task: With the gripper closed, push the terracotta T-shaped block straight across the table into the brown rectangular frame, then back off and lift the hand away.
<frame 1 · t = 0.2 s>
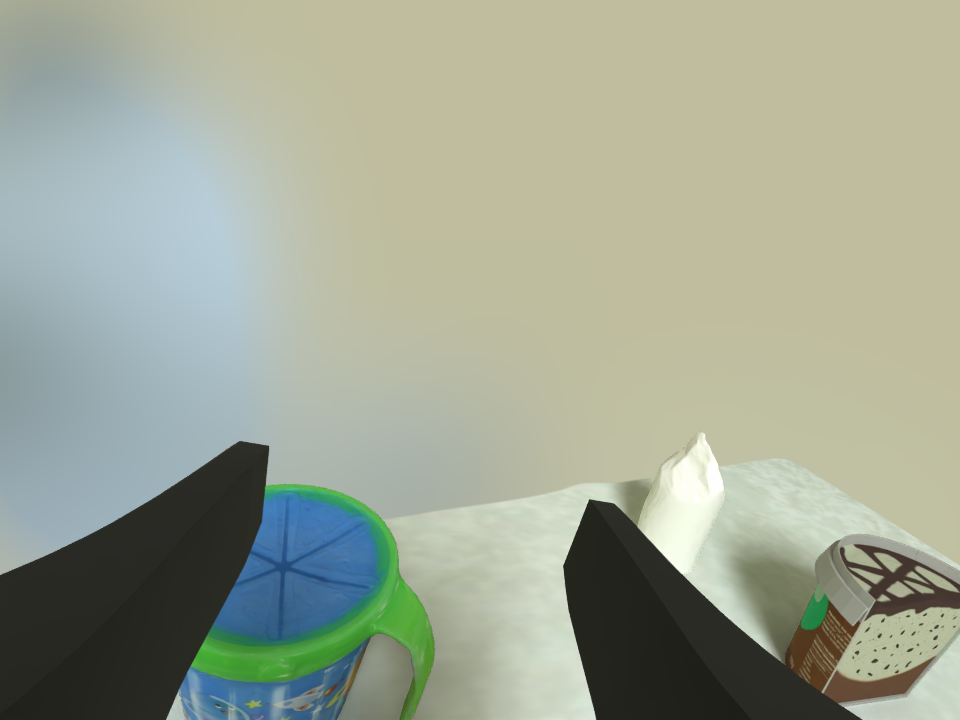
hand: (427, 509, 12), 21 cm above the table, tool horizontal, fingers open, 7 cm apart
snack cup: (267, 704, 28), on the table
food container: (822, 665, 39), on the table
roll: (660, 552, 47), on the table
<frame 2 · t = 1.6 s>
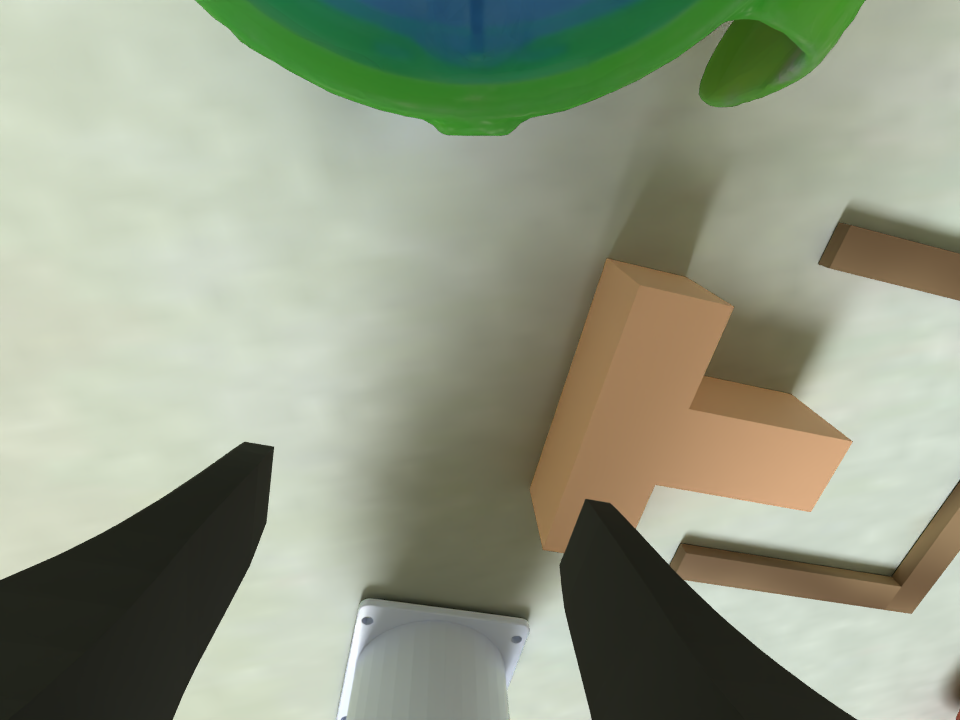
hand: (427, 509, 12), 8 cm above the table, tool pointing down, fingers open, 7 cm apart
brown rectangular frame: (860, 443, 22), on the table
T block: (672, 405, 21), on the table
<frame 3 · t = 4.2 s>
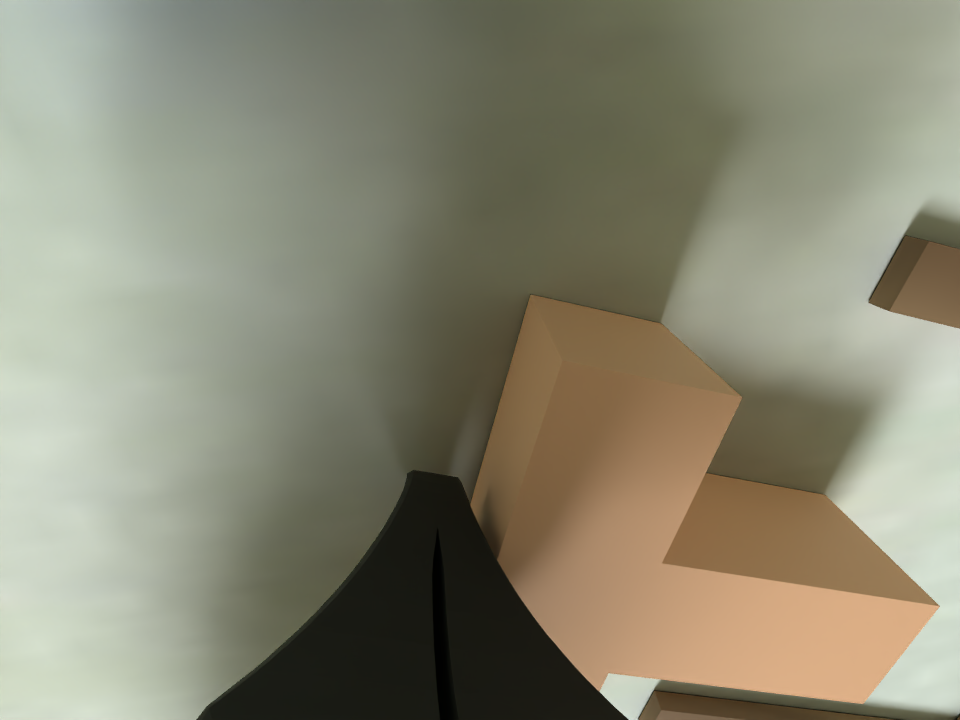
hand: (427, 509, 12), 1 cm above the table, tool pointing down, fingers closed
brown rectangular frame: (918, 560, 15), on the table
T block: (644, 513, 14), on the table, touching gripper
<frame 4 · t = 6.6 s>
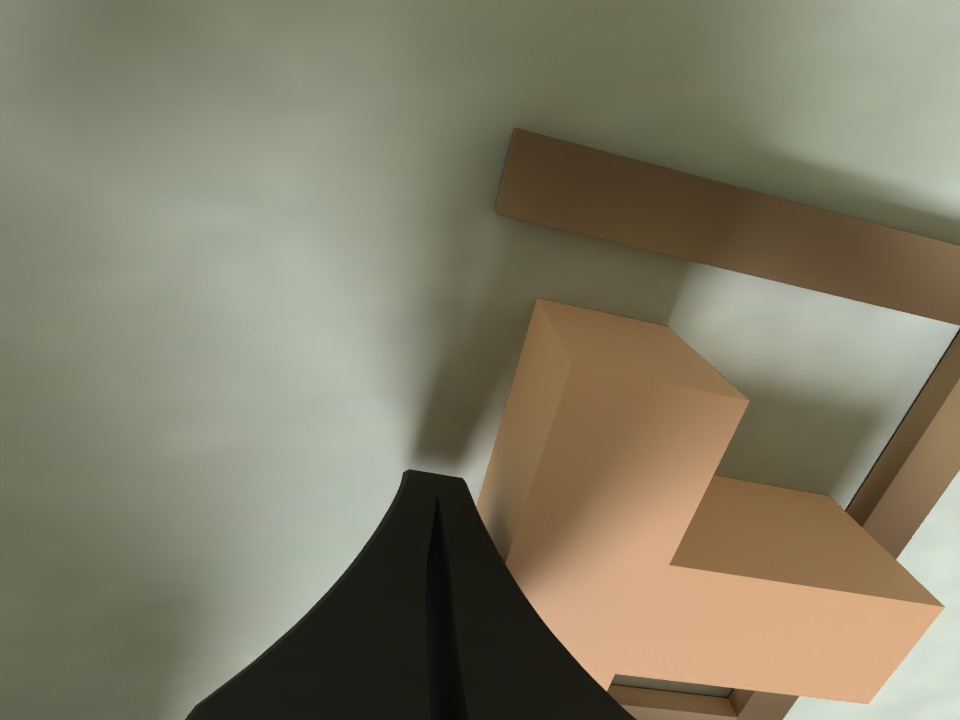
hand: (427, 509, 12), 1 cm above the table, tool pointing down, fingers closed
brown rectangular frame: (638, 512, 14), on the table
T block: (649, 514, 14), on the table
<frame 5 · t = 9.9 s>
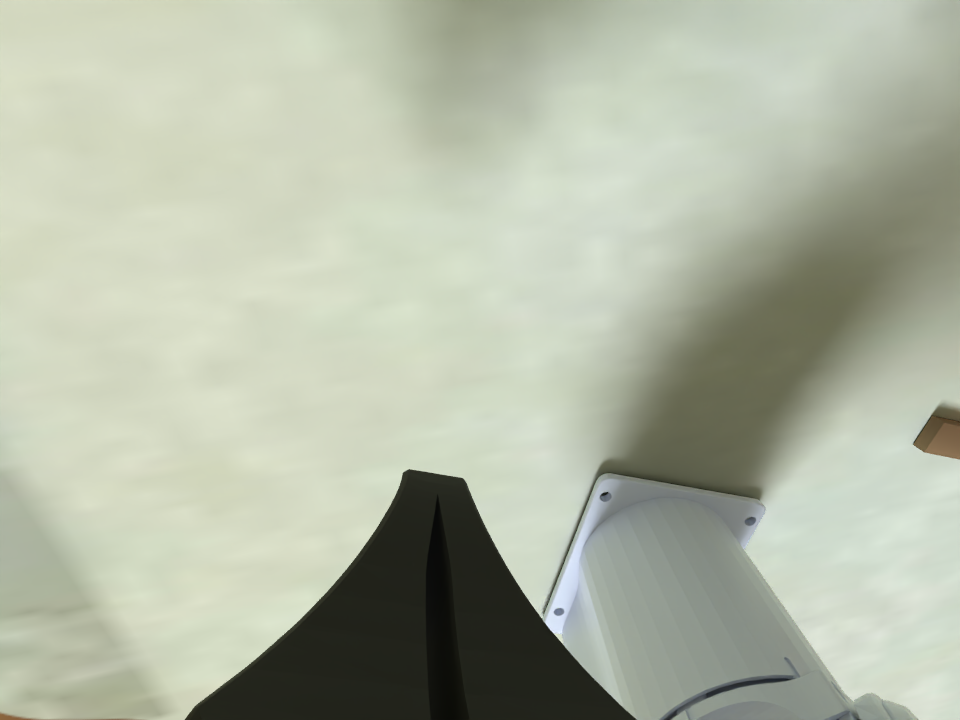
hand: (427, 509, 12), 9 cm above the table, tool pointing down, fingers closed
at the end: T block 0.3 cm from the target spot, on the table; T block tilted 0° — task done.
